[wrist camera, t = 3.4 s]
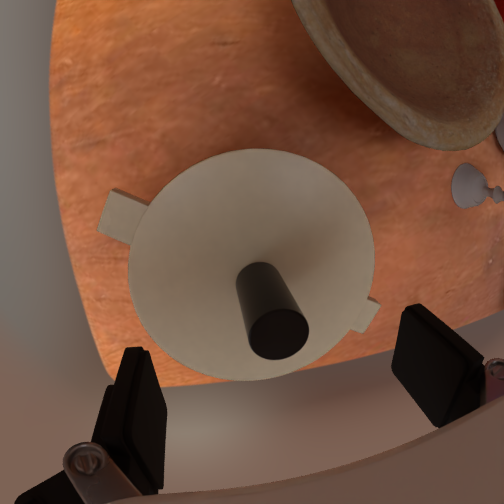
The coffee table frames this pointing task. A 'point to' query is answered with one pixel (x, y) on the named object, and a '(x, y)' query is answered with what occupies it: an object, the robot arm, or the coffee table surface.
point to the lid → (251, 264)
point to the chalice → (472, 187)
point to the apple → (500, 7)
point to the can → (500, 132)
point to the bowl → (417, 63)
